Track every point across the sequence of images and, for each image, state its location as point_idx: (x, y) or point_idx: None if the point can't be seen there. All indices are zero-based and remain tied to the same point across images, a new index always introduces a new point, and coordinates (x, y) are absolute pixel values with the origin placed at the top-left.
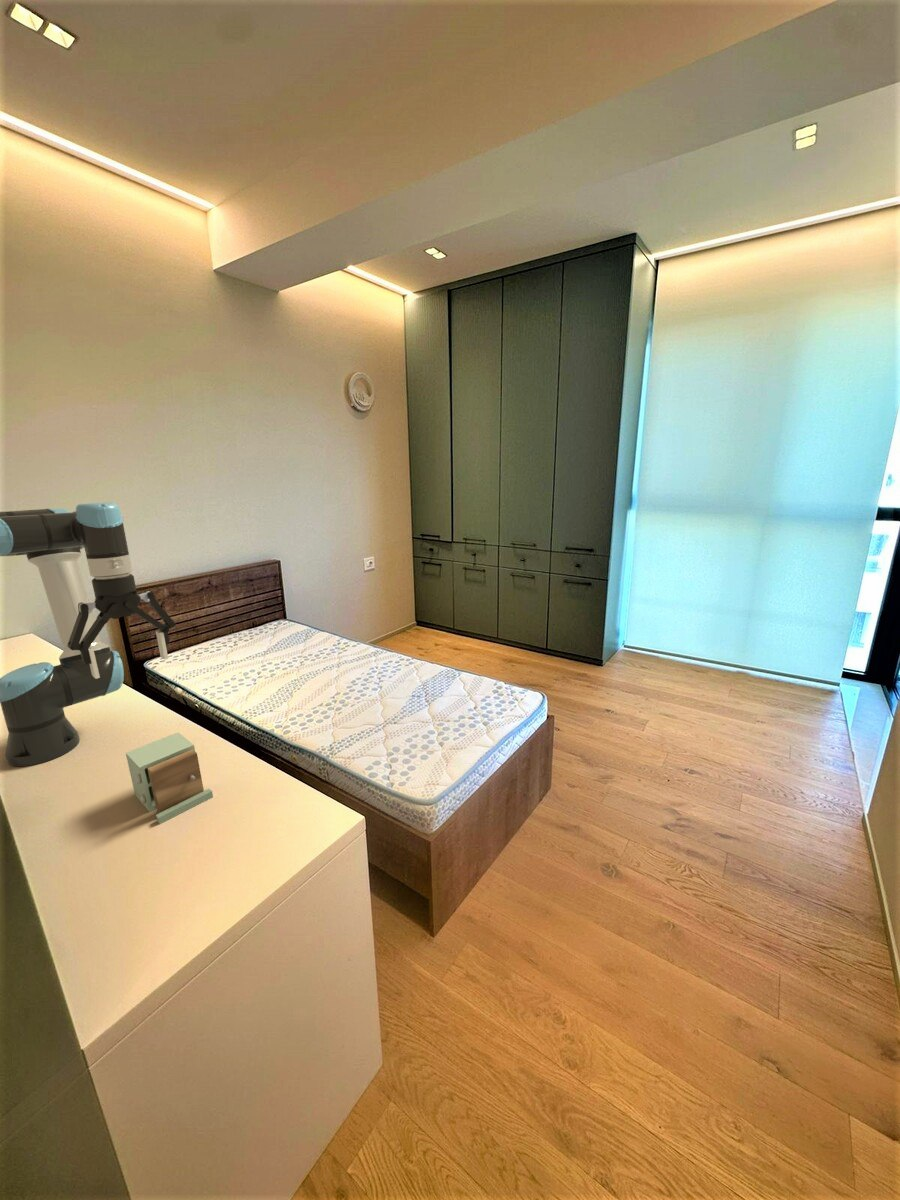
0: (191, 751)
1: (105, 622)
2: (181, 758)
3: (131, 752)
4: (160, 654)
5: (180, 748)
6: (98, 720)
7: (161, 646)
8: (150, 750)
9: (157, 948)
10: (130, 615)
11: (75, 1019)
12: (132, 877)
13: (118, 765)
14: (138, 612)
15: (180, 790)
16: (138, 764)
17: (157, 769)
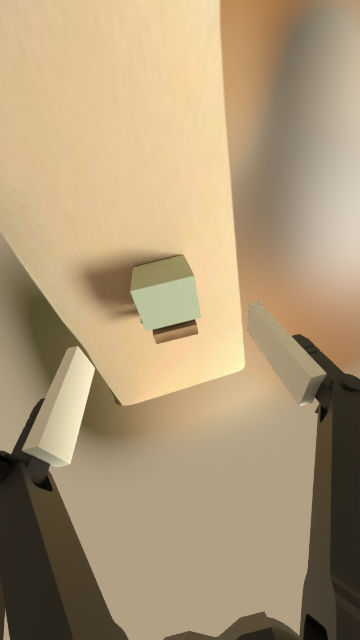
0: (195, 328)
1: (113, 633)
2: (183, 335)
3: (137, 295)
4: (252, 311)
5: (187, 317)
6: None
7: (268, 354)
8: (158, 303)
9: (147, 390)
10: (264, 616)
11: (120, 401)
12: (135, 355)
13: (104, 159)
14: (315, 628)
15: None
16: (145, 325)
17: (161, 341)
